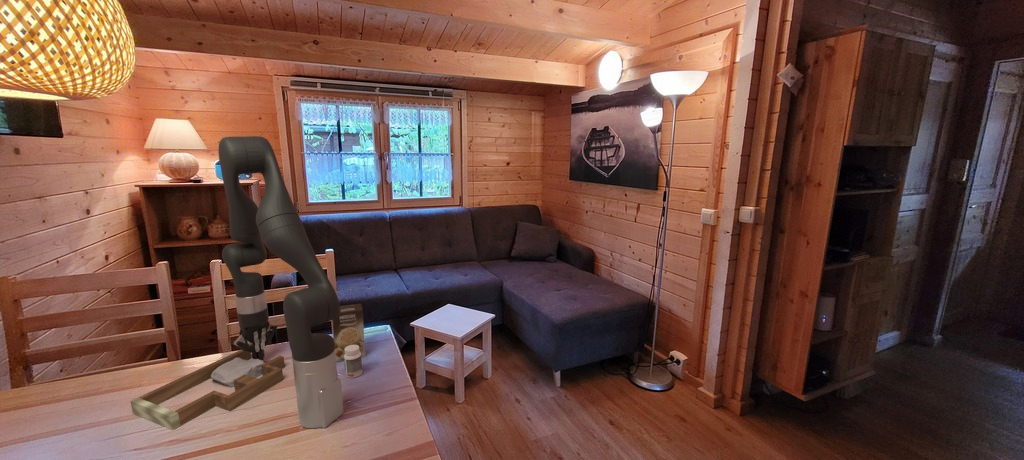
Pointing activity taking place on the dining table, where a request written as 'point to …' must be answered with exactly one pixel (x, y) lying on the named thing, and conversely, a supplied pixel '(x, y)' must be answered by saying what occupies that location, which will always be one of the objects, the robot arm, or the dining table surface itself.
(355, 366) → the pill bottle
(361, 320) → the coffee box
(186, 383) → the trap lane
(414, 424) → the dining table surface
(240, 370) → the stone block
